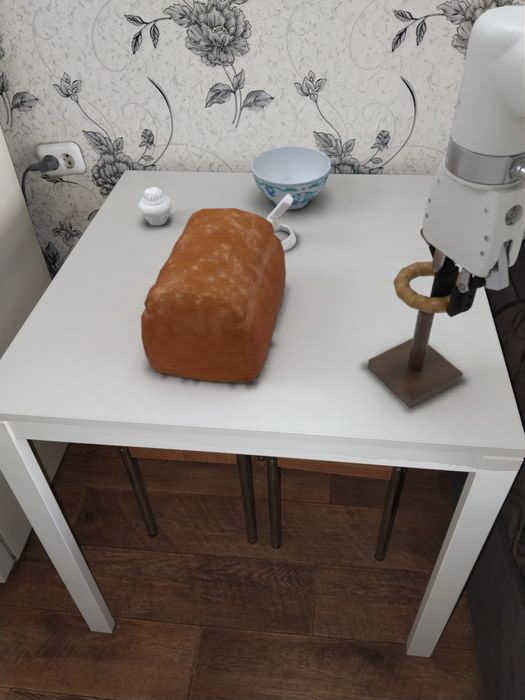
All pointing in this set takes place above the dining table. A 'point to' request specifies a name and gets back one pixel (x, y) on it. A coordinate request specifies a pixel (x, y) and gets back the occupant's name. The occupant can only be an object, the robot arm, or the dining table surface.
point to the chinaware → (291, 173)
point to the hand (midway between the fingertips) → (449, 303)
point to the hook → (277, 226)
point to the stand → (415, 366)
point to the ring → (412, 296)
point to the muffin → (155, 206)
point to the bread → (216, 298)
